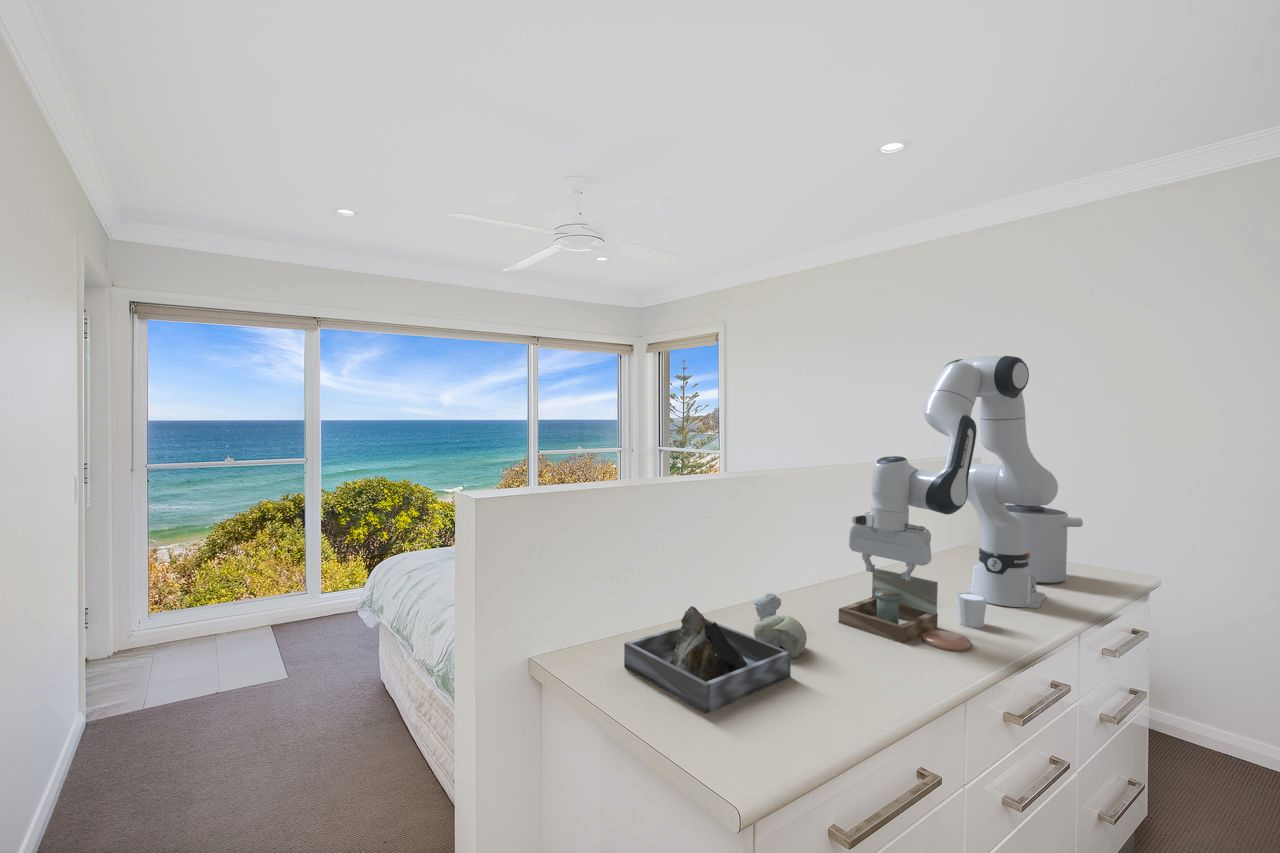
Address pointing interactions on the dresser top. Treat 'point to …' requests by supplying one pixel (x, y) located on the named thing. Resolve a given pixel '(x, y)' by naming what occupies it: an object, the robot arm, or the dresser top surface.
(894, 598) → the plant pot
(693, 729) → the dresser top surface
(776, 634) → the seashell
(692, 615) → the mineral specimen
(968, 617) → the shot glass
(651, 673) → the display tray
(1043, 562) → the grey cooking pot
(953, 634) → the pink round part
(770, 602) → the grey rock chunk
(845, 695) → the dresser top surface
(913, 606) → the frame
